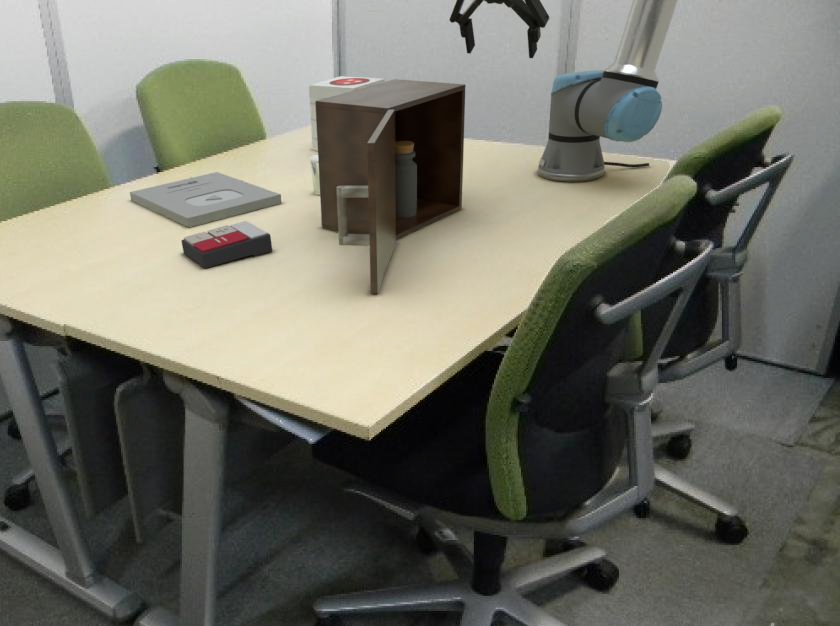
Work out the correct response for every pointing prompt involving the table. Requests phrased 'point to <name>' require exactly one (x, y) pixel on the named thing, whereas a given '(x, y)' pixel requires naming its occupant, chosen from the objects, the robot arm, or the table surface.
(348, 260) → the table surface
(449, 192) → the cupboard
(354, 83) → the pizza boxes
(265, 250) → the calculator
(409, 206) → the bottle
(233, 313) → the table surface
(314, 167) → the milkshake
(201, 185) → the award plaque
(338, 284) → the table surface
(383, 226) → the cupboard door
